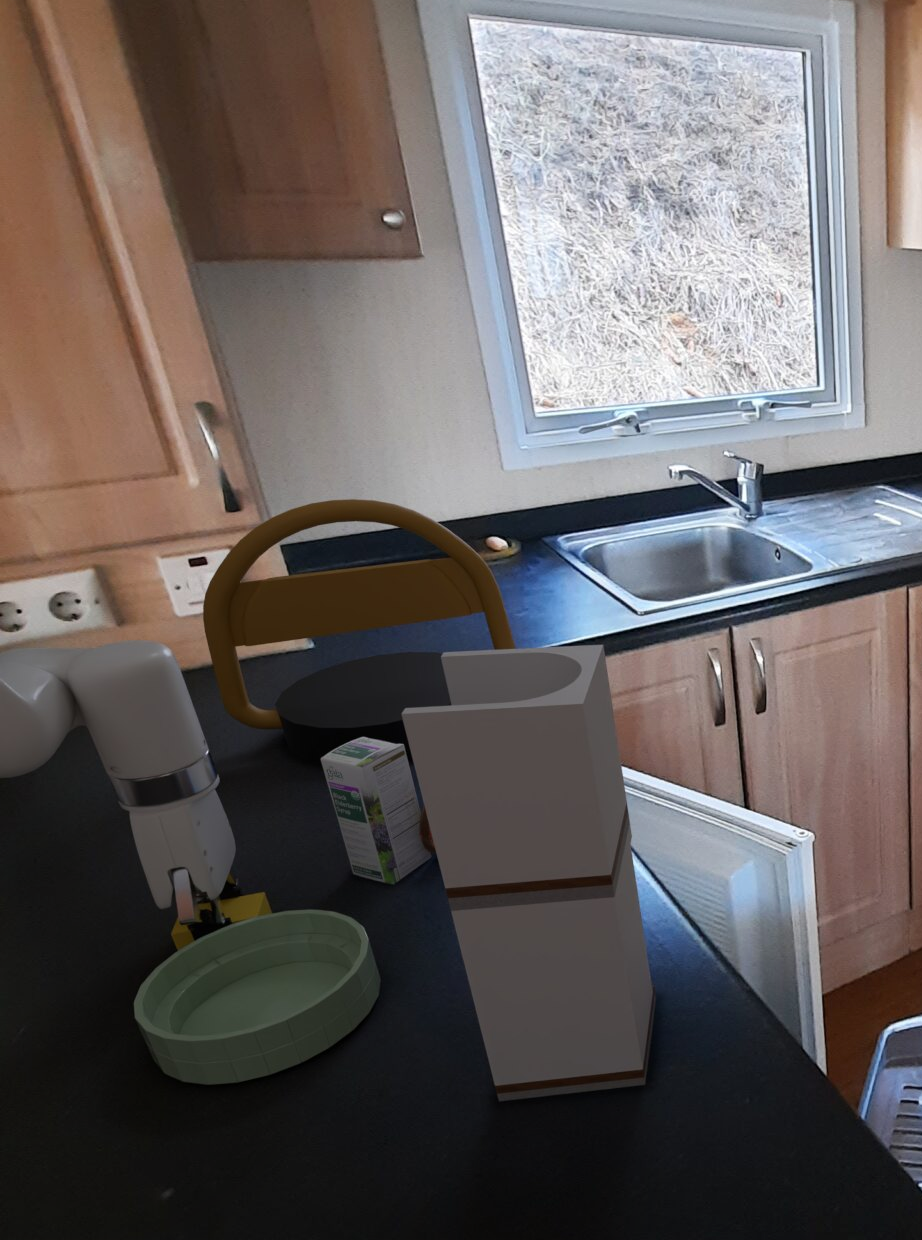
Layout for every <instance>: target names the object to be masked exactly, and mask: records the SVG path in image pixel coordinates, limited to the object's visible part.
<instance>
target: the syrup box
mask: <svg viewBox="0 0 922 1240" xmlns="http://www.w3.org/2000/svg"><path fill="white" fill-rule="evenodd" d="M321 763H322V766H323V767H322V770H323V773H324V776H325V780H326V784H327V788H328V790H329V794H330V797H331V800H332V804H333V808H334V811H335V814H336V815H335V816H336V818H337V822H338V825H339V829H340V832H341V836H342V840H343V843H344V846H345V850H346V853H347V857H348V860H349V865H350V868H351V871H352V874H353V875H355V876H358V877H361V878H365V879H368V880H372V881H375V882H376V881H377V882H380V883H385V884H389V885H395V884H396V883H398V882H399V881H401V880H402V879H403V878H405V877H406V876H407V875H409V874H411V873H412V872H413V871H415V870H416V869H417V868H419V867H420V866H421V865H423V864H424V863H426V862H427V861H429V860H431V858H432V853H430V852H428V851H427V850H426V849H425V847H424V846H423V844H422V842H421V838H420V832H419V824H420V816H421V812H422V811H421V808H420V805H419V801H418V796H417V793H416V789H415V784H414V780H413V775H412V772H411V768H410V763H409V761H408V759H407V755H406V751H405V747H404V744H394V743H390V742H386V741H381V740H376V739H371V738H367V737H361V738H358V739H355V740H353V741H350V742H348V743H346V744H344V745H341V746H340V747H338V748H336V749H334V750H332V751H331V752H329V753H328V754H326V755H325V756H323V757H322V758H321Z"/></svg>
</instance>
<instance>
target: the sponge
mask: <svg viewBox="0 0 922 1240" xmlns="http://www.w3.org/2000/svg"><path fill="white" fill-rule="evenodd" d="M221 904H222V907H223V911H224V914H225V918H228V917H230V918H231V921H232V923H233V924H234V923H238V922H241V921H244V920H247V919H251V918H254V917H257V916H262V915H267V914H272V913H273V911H272V910H271V909H272V908H271V906H270V903H269V900H268V898H267V894H266V892H264V891H262V892H257V893H256V892H255V893H252V894H246V895H243V896H240V897H236V898H231V899H225V900H221ZM198 907H199V909H201V910H203V909H209V910H211V911H212V909H211V905H210V902H209V903H198ZM170 935H171V938H172V940H173V942H174V945H175V947H176V950H177V951H179V950H180V949H182V948H184V947H186V946H187V945H189V944H191V943H192V942H194V939H193V936H192V934H191V931H189V930H188V927H187V925H181V924H180V922H179V918H178V917H177V918H176V920H175V922H174V925H173V928H172V930H171V933H170Z"/></svg>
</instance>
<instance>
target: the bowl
mask: <svg viewBox="0 0 922 1240" xmlns="http://www.w3.org/2000/svg"><path fill="white" fill-rule="evenodd" d="M381 978H382V977H381V975H380V972H379V969H378V966H377V963H376V959H375V956H374V952H373V949H372V945H371V942H370V939H369V937H368V934H367V932H366V929H365V927H364V925H362V924H360V923H359V922H358V921H357V920H356V919H354V918H353V917H351V916H348V915H345V914H343V913H339V912H337V911H331V910H323V909H313V908H312V909H295V910H294V909H293V910H284V911H278V912H272V914H267V915H262V916H257V917H254V918H251V919H247V920H244V921H241V922H238V923H234V924H231V925H228V926H226V927H224V928H222V929H219V930H217V931H215V932H212V933H210V934H208V935H205V936H203V937H201V938H199V939H198V940H196V941H194V942H192V943H191V944H189V945H187V946H186V947H184V948H182V949H180V950H179V951H178V950H177V951H175V952H174V953H173V954H171V955H170V956H169V957H167V959H165V960H164V961H162V963H160V964H159V965H158V966H156V967H155V968H154V969H153V971H151V973H150V974H149V975H148V976H147V977H146V978H145V980H144V981H143V982H142V983H141V984H140V986H139V989H138V991H137V993H136V996H135V998H134V1001H133V1012H134V1013H133V1014H134V1019H135V1022H136V1023H137V1026H138V1029H139V1031H140V1033H141V1036H142V1037H143V1040H144V1042H145V1044H146V1045H147V1048H148V1051H149V1053H150V1056H151V1057H152V1060H153V1062H154V1063H155V1064H156V1065H157V1066H158V1068H159V1069H160V1070H161V1071H162V1073H164V1074H165V1075H167V1076H169V1077H171V1078H174V1079H176V1080H178V1081H180V1082H183V1083H192V1084H199V1085H206V1086H208V1085H210V1086H212V1085H225V1084H236V1083H241V1082H245V1081H246V1082H247V1081H250V1080H255V1079H259V1078H263V1077H268V1076H270V1075H274V1074H276V1073H279V1072H282V1071H284V1070H287V1069H289V1068H292V1067H294V1066H298V1065H299V1064H302V1063H304V1062H306V1061H308V1060H309V1059H312V1058H313V1057H315V1056H317V1055H319V1054H321V1053H323V1052H325V1051H326V1050H328V1049H330V1048H331V1047H333V1046H334V1045H335V1044H337V1043H338V1042H339V1041H341V1040H342V1039H343V1038H345V1037H347V1035H349V1034H351V1033H352V1032H353V1031H354V1030H355V1029H356V1028H357V1027H358V1026H359V1025H360V1024H361V1022H363V1021H364V1020H365V1018H366V1017H367V1016H368V1015H369V1014H370V1012H371V1011H372V1009H373V1007H374V1005H375V1003H376V1002H377V999H378V998H379V995H380V989H381V982H382V981H381V980H382V979H381Z"/></svg>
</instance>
